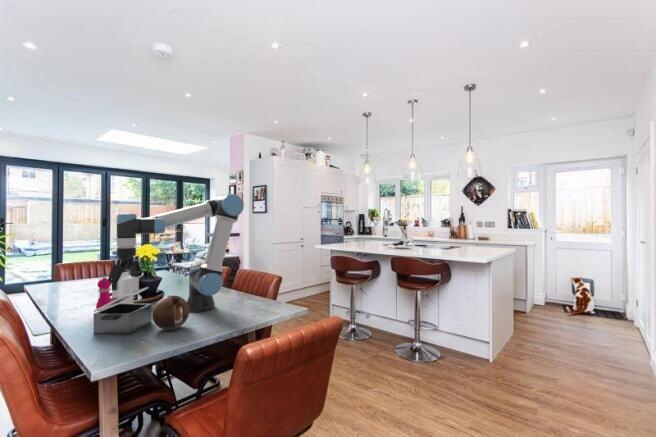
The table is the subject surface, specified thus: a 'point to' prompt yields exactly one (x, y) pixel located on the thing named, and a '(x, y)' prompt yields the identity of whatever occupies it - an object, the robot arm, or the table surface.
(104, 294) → the pepper mill
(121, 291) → the milk
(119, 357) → the table surface
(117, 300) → the lid
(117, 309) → the gray box
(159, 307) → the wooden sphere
